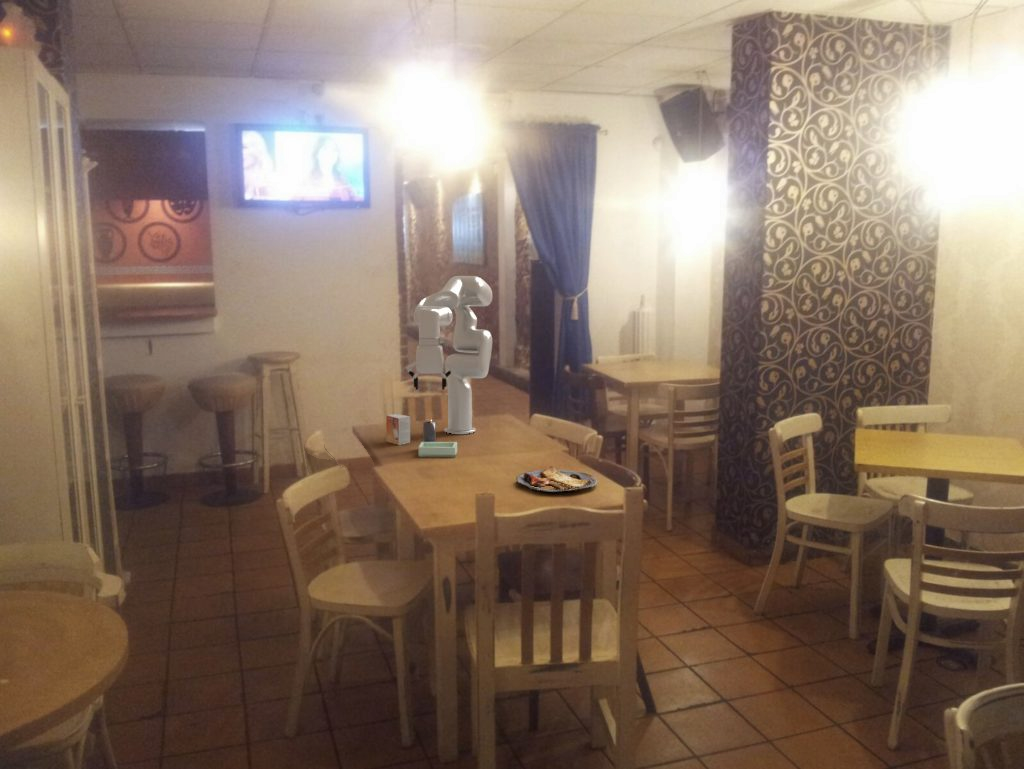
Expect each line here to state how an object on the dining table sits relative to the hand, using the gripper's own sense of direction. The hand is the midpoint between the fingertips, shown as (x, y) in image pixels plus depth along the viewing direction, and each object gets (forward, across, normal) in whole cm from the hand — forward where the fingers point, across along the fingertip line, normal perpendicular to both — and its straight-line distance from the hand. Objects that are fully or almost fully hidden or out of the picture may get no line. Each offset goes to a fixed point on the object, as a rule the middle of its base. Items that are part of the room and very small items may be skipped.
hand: (430, 389), depth 322 cm
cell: (+22, +1, -1) cm, 23 cm away
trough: (+22, -3, +8) cm, 24 cm away
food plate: (+23, -44, +50) cm, 70 cm away
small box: (+23, +13, -11) cm, 29 cm away
